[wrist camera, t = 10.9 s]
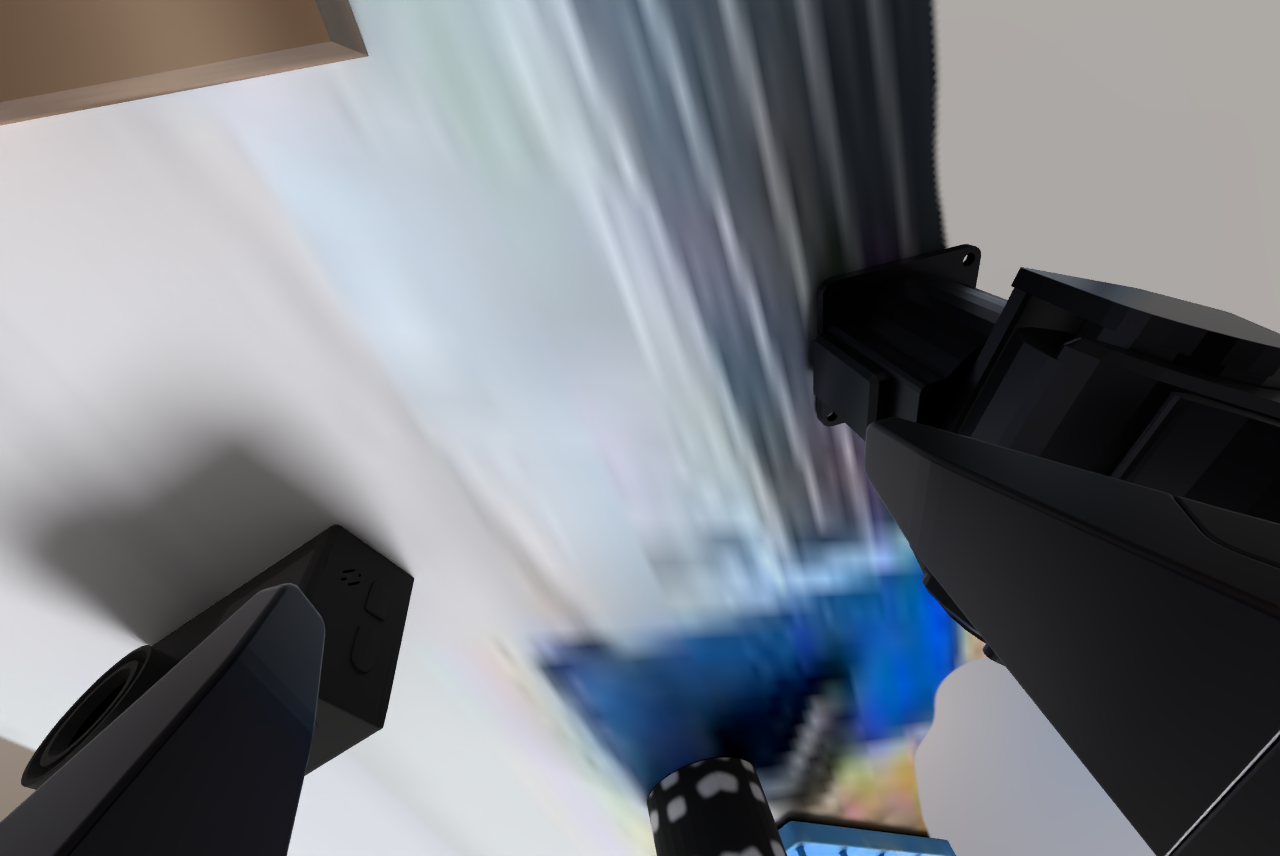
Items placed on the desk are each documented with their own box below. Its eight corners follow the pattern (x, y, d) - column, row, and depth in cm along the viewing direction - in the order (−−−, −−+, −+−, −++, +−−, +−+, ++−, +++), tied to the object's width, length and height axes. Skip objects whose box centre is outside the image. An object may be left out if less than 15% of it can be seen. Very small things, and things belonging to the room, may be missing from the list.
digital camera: (314, 501, 20) (234, 657, 15) (416, 575, 23) (384, 731, 17) (121, 632, 22) (-25, 826, 16) (241, 687, 25) (155, 868, 19)
